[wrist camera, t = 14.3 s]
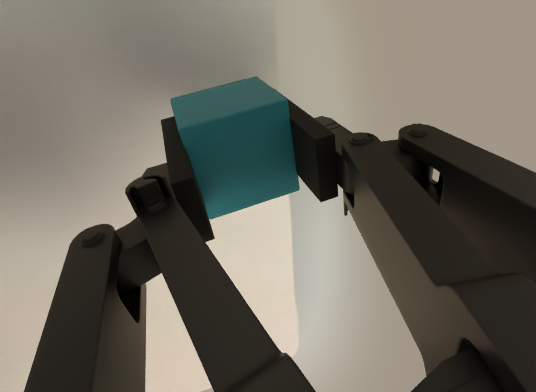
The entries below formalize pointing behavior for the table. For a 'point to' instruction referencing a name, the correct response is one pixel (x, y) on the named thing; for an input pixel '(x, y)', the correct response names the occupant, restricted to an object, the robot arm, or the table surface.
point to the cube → (238, 144)
